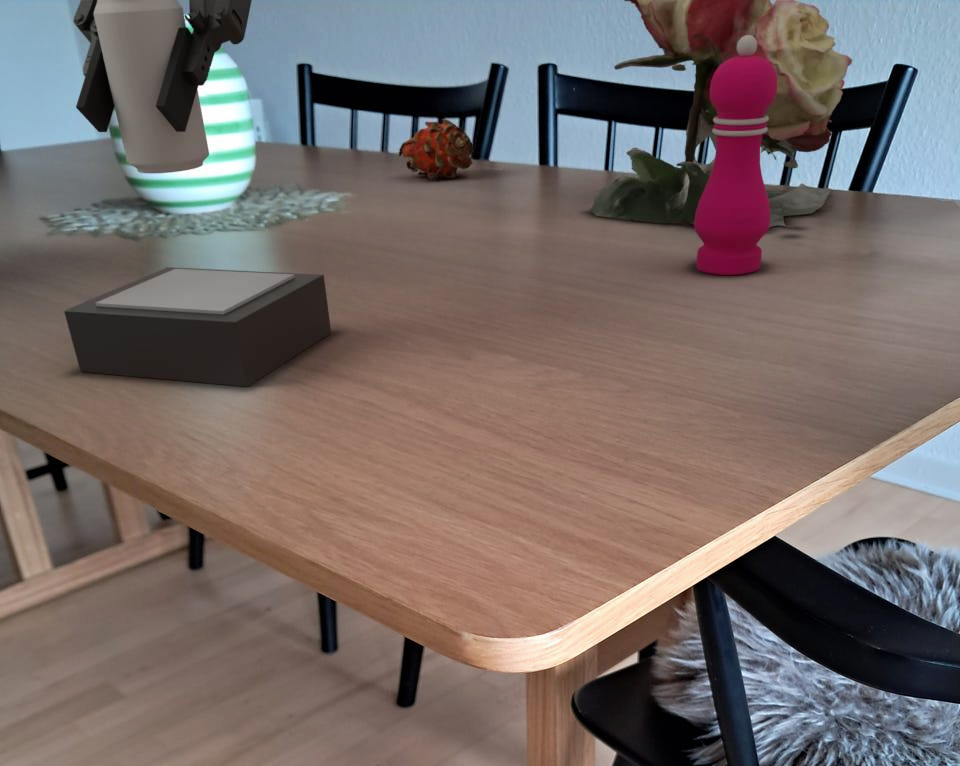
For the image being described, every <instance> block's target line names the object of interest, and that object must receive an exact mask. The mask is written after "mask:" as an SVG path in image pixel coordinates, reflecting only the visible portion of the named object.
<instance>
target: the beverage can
mask: <svg viewBox="0 0 960 766" xmlns="http://www.w3.org/2000/svg"><path fill="white" fill-rule="evenodd" d="M184 13H185V12H184V8H183V6H182V4H181V3H180V1H178V0H97V4H96V7H95V10H94V18H95V22H96V27H97V31H98V36H99V40H100V45H101V49H102V53H103V58H104V62H105V67H106V71H107V76H108V80H109V84H110V89H111V93H112V98H113V102H114V111H115V114H116V120H117V122H118V123H117V124H118V128H119V132H120V137H121V142H122V146H123V150H124V151H123V152H124V155H125V159H126V162H127V164H129V165H131V166H132V167H134V168H135V169H136V170H137V172H138V173H140V174H150V175H151V174H167V173H168V174H169V173H179V172H184V171H190V170H195V169H198V168H200V167H202V166H203V165H204V161H205V160H206V159H207V158H208V157H209V156H210V151H209V145H208V144H209V143H208V140H207V133H206V128H205V123H204V122H205V121H204V118H203V117H204V116H203V112H202V106H201V101H200V96H199V90H198V89H197V92H196V96H195V99H194V103H193V106H192V110H191V113H190V116H189V120H188V123H187V127H186V130H185V132H176V130H175V129H174V128H173V127H172V126H171V124H170V123H169V122H168V121H167V120H166V118H165V117H164V116H163V115H162V113H161V112H160V111H159V110H158V109H157V107H156V103H157V100H158V96H159V93H160V90H161V86H162V83H163V79H164V76H165V73H166V69H167V66H168V62H169V59H170V56H171V52H172V49H173V45H174V42H175V39H176V35H177V32H178V29H179V28H184V27H187V24H186V18H185V14H184Z"/></svg>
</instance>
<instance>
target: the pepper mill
mask: <svg viewBox="0 0 960 766" xmlns="http://www.w3.org/2000/svg"><path fill="white" fill-rule="evenodd" d="M756 49H757V41H756V39H755V38H754V37H753V36H751V35H745V36H743V37H742V38H741V39H740V40H739V41H738V44H737V52H738V54H739V55H740V56H736V57H732V58H730V59H728V60H726V61H725V62H723V63H722V64H721V65H720V66H719V67H718V68H717V70H716V71H715V73H714V75H713V78H712V80H711V85H710V100H711V102H712V104H713V106H714V107H715V109H716V110H717V113H718V116H716V117H715V118H714V119H713V122H714V123H715V124H714V128H713V130H712V132H713V133H714V134H715V135H716V150H715V155H714V158H715V160H714V159H713V160H714V165H713V169H712V172H711V175H710V178H709V180H708V183H707V185H706V187H705V189H704V191H703V194H702V196H701V198H700V200H699V203H698V207H697V210H696V214H695V221H694V224H693V228H694V232H695V234H697V236H698V237H699V239H700V240H701V242H702V243H703V244H702V245H701V246H700V247H698V248H697V253H696V264H695V266H696V268H697V270H698V271H700V272H703V273H706V274H710V275H717V276H739V275H747V274H751V273H755V272H757V271H758V270H759V269H760V268H761V265H762V255H763V250H762V248H761V247H760V246H759V245H758V243H759V242H760V241H761V239H762V238H763V237H764V236H765V235H766V233H767V232H768V231H769V230H770V229H769V228H770V227H769V226H770V205H769V199H768V196H767V193H766V192H767V190H766V186H765V183H764V179H763V175H762V174H763V173H762V167H761V166H762V165H761V141H762V135H763V134H764V133H766V132H767V130H768V129H767V127H766V126H767V123H766V122H767V121H768V120H769V117H768V116H767V115H764V114H765V112H766V109H767V108H768V107H769V106H770V105H771V103H772V102H773V100H774V99H775V96H776V93H777V75H776V71H775V69H774V67H773V65H772V64H771V63H770V62H769V61H767V60H766V59H764V58H762V57H759V56H755V55H753V54H754V53H755V51H756Z"/></svg>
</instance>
